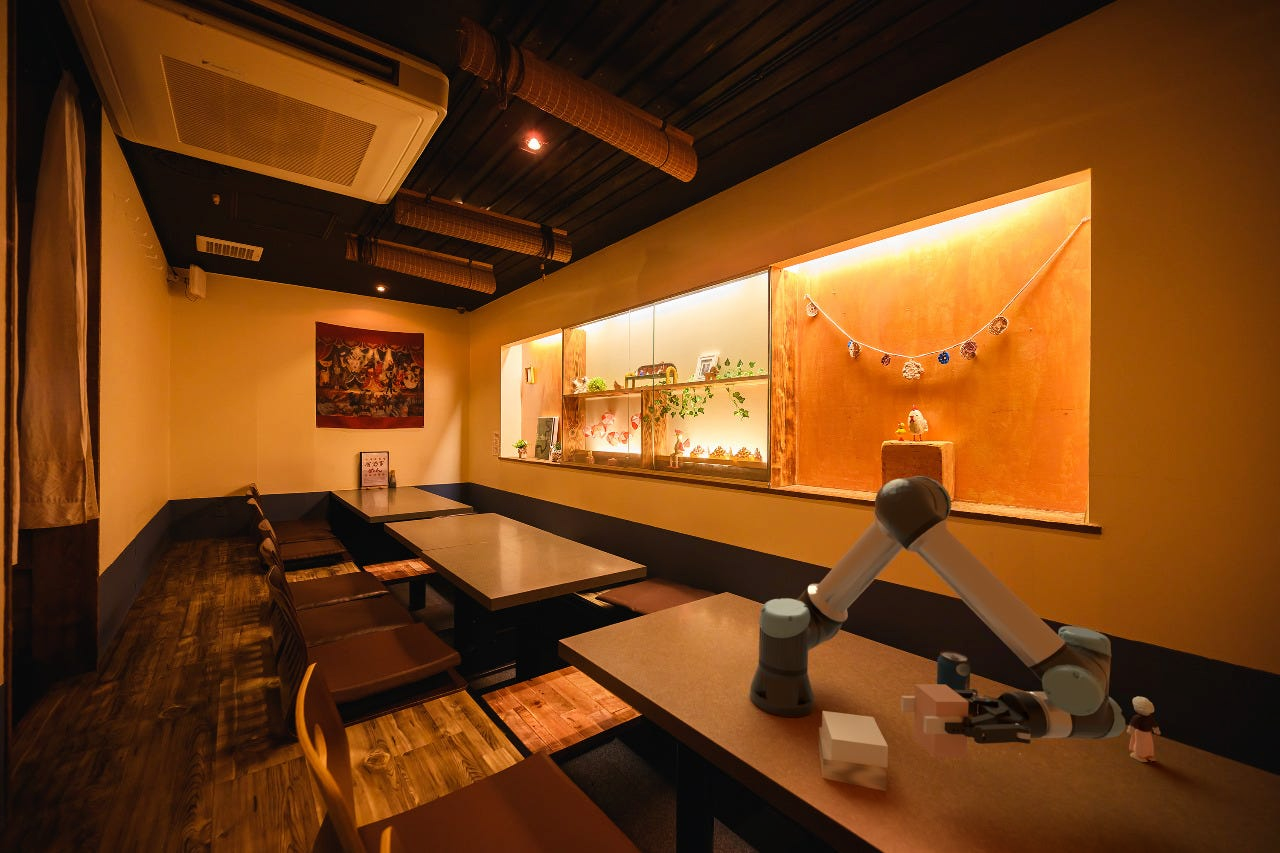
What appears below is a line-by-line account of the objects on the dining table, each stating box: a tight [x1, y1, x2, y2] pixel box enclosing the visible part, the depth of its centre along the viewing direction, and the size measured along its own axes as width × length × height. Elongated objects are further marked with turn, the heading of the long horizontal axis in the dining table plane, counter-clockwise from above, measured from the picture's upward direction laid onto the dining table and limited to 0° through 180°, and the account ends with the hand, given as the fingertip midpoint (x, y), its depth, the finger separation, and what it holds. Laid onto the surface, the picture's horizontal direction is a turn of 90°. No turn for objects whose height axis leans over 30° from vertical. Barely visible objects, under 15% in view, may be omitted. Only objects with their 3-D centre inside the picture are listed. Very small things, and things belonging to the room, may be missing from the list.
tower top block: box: [821, 710, 889, 769], centre depth 100 cm, size 10×10×4 cm
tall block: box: [912, 683, 969, 759], centre depth 92 cm, size 6×6×10 cm
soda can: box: [936, 650, 971, 690], centre depth 126 cm, size 7×7×12 cm
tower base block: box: [818, 726, 887, 792], centre depth 100 cm, size 11×11×4 cm
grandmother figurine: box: [1126, 696, 1161, 763], centre depth 106 cm, size 8×4×13 cm, turn 110°
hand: (913, 714), depth 92 cm, fingers closed on tall block, 6 cm apart
